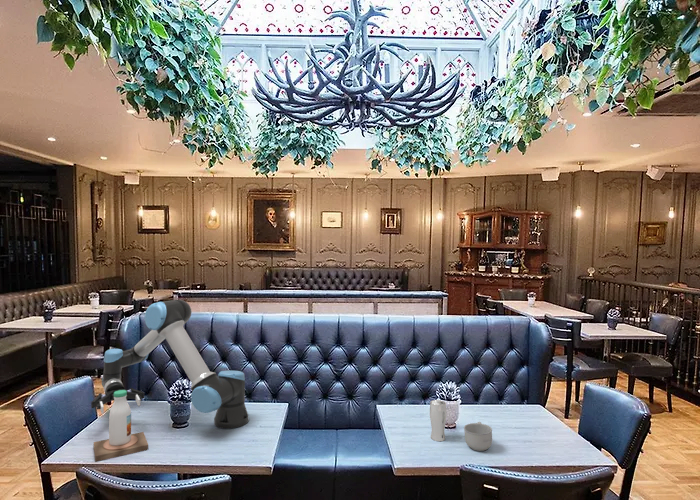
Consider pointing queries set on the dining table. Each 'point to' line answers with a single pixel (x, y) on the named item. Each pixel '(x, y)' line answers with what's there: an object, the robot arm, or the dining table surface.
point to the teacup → (478, 436)
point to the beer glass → (438, 419)
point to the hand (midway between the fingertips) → (121, 406)
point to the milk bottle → (120, 420)
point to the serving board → (120, 447)
